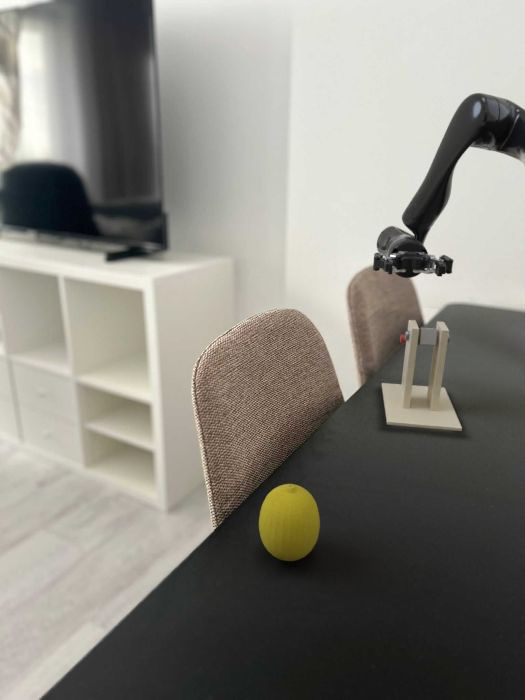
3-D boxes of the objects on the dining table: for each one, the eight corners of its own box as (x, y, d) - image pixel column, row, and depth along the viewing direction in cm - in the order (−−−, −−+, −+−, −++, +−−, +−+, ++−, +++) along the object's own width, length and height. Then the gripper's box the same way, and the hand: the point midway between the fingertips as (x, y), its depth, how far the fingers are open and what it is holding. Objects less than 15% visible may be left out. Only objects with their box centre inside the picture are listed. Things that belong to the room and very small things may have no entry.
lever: (399, 346, 84) (400, 331, 84) (430, 348, 84) (431, 333, 84) (409, 343, 72) (410, 326, 72) (446, 346, 72) (447, 329, 72)
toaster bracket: (380, 391, 85) (389, 310, 80) (443, 396, 83) (455, 314, 79) (386, 431, 72) (396, 337, 67) (460, 438, 70) (476, 342, 66)
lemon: (276, 531, 52) (278, 462, 49) (327, 551, 49) (332, 479, 46) (247, 565, 47) (247, 491, 44) (300, 590, 44) (304, 512, 42)
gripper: (372, 236, 105) (376, 246, 90) (444, 238, 103) (461, 249, 88) (369, 272, 108) (372, 288, 92) (440, 275, 105) (455, 292, 90)
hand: (415, 269), depth 90 cm, fingers open, 8 cm apart
